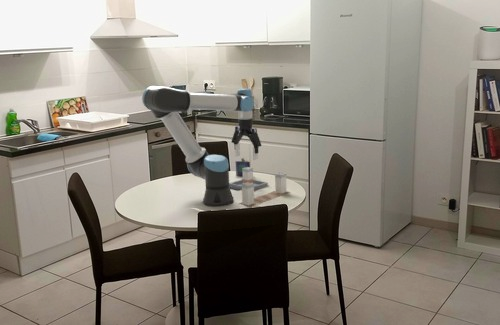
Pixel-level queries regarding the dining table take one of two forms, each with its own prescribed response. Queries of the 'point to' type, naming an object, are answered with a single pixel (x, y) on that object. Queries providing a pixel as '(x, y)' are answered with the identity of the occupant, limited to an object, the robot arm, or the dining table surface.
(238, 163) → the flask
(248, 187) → the block
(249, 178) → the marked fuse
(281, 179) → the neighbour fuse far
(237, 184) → the tray
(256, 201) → the fuse board
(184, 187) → the dining table surface
